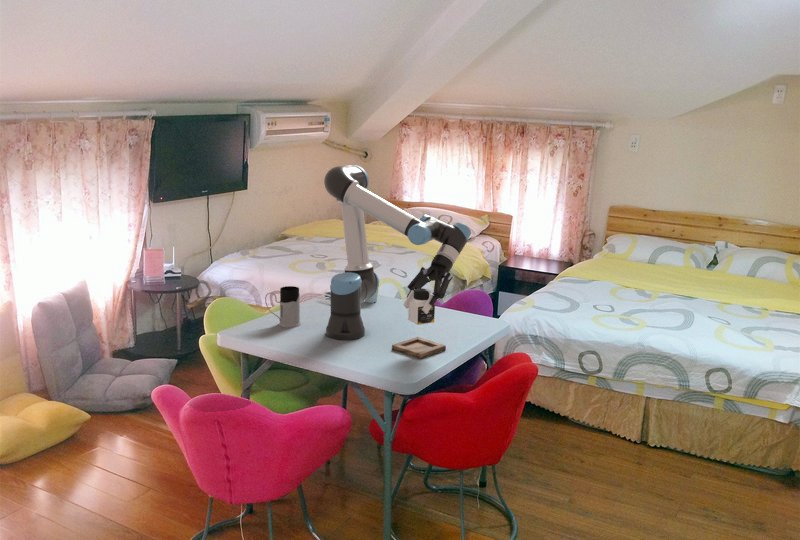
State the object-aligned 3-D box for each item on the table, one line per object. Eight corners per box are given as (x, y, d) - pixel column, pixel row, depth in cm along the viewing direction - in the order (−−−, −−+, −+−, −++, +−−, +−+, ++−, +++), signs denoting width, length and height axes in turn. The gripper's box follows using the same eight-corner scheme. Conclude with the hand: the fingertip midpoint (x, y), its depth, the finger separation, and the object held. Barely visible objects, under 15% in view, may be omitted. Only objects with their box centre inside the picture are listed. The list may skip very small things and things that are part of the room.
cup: (378, 303, 319) (379, 281, 316) (361, 303, 319) (362, 281, 317) (379, 299, 326) (379, 277, 324) (363, 299, 326) (363, 277, 324)
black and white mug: (302, 326, 282) (302, 290, 279) (267, 329, 277) (266, 292, 274) (298, 320, 290) (298, 285, 287) (263, 323, 285) (263, 287, 282)
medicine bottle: (417, 325, 251) (418, 292, 248) (407, 320, 257) (408, 288, 254) (434, 322, 254) (435, 290, 251) (424, 317, 260) (425, 286, 257)
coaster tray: (391, 349, 257) (392, 344, 257) (417, 341, 268) (417, 336, 267) (420, 359, 248) (420, 354, 248) (445, 350, 258) (445, 345, 258)
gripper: (471, 270, 256) (442, 321, 247) (427, 261, 269) (398, 309, 261) (463, 257, 251) (432, 309, 242) (418, 249, 264) (388, 297, 256)
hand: (414, 309), depth 252 cm, fingers closed on medicine bottle, 8 cm apart
